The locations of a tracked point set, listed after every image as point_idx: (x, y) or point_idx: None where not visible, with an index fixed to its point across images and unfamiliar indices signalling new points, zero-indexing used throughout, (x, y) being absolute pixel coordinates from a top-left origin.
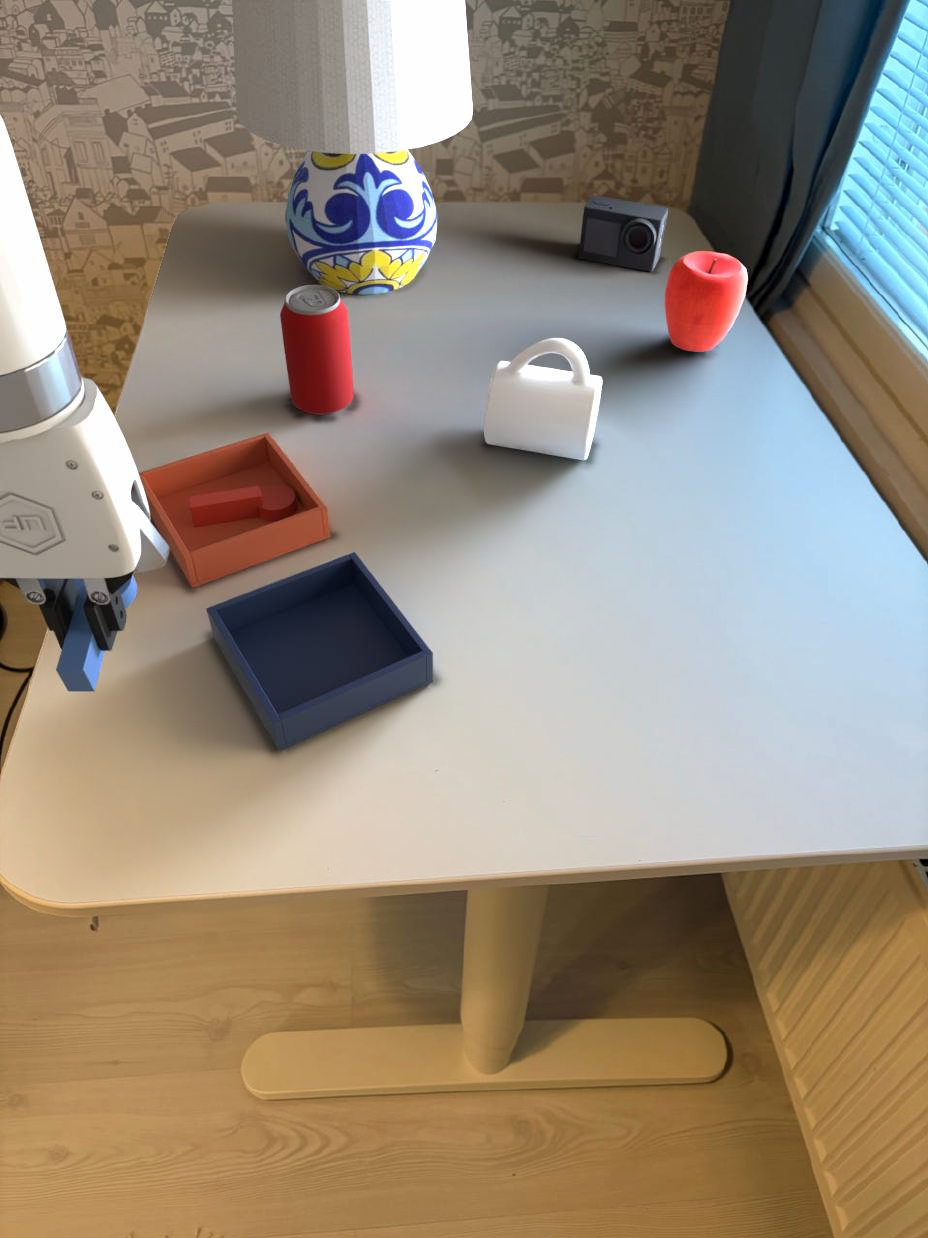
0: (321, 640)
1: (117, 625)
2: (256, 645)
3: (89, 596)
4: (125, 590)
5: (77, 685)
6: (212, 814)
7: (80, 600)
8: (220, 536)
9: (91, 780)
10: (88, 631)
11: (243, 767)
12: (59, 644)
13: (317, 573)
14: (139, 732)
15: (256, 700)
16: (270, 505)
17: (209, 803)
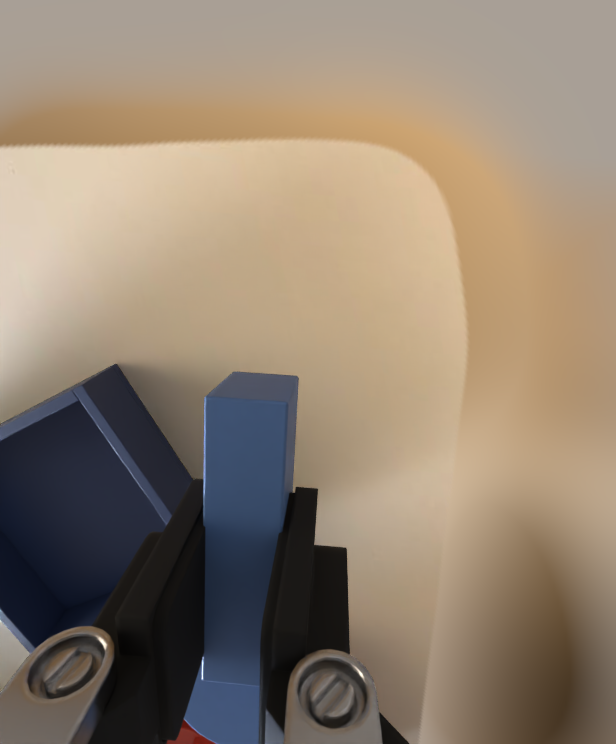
0: (90, 528)
1: (143, 547)
2: None
3: (101, 674)
4: None
5: (260, 379)
6: (187, 270)
7: None
8: None
9: (360, 337)
10: (217, 532)
11: (159, 342)
12: (315, 502)
13: None
14: (308, 408)
15: (131, 433)
16: (184, 735)
17: (194, 288)
